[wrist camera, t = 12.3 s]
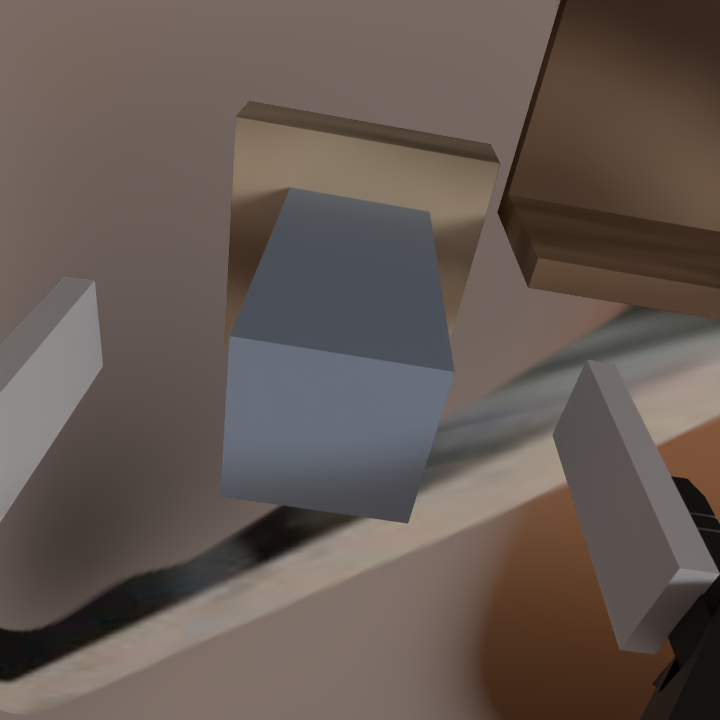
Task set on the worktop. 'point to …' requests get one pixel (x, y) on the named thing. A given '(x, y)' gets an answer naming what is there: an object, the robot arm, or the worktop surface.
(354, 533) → the worktop surface
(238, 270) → the stand
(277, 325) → the block
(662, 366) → the worktop surface
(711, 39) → the open wooden box
